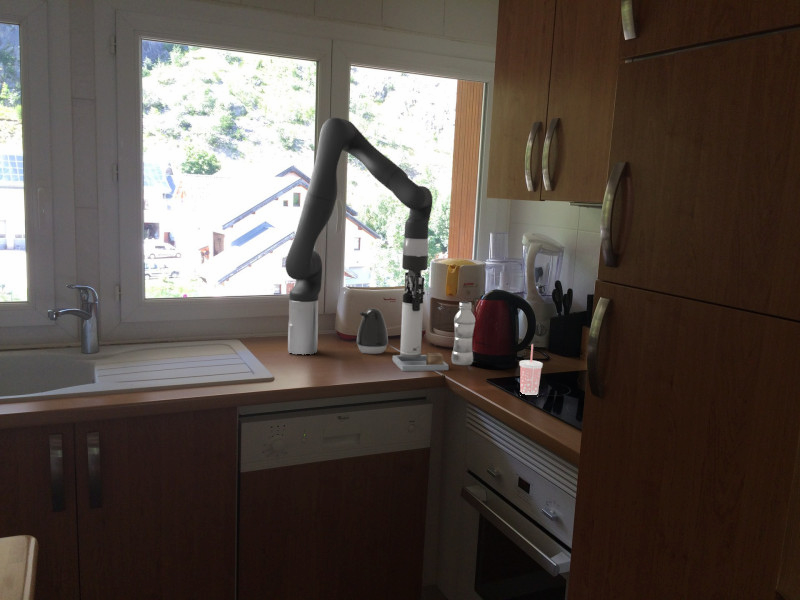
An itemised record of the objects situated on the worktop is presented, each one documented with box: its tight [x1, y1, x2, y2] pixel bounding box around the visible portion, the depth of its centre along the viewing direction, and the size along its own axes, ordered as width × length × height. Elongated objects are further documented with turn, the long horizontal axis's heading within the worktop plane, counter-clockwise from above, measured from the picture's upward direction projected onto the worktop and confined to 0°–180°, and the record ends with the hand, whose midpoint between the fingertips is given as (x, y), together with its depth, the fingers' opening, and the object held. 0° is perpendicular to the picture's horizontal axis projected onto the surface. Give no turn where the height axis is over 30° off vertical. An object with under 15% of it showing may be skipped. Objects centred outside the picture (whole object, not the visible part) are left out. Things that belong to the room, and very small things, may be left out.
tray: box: [392, 354, 449, 372], centre depth 203 cm, size 14×13×2 cm
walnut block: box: [426, 352, 444, 365], centre depth 201 cm, size 4×4×4 cm
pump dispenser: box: [356, 307, 389, 355], centre depth 219 cm, size 10×10×15 cm
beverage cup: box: [519, 343, 544, 395], centre depth 178 cm, size 6×6×14 cm
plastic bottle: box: [451, 301, 476, 366], centre depth 207 cm, size 6×7×20 cm
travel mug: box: [399, 291, 426, 358], centre depth 203 cm, size 6×7×20 cm
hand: (413, 308), depth 202 cm, fingers closed on travel mug, 6 cm apart
